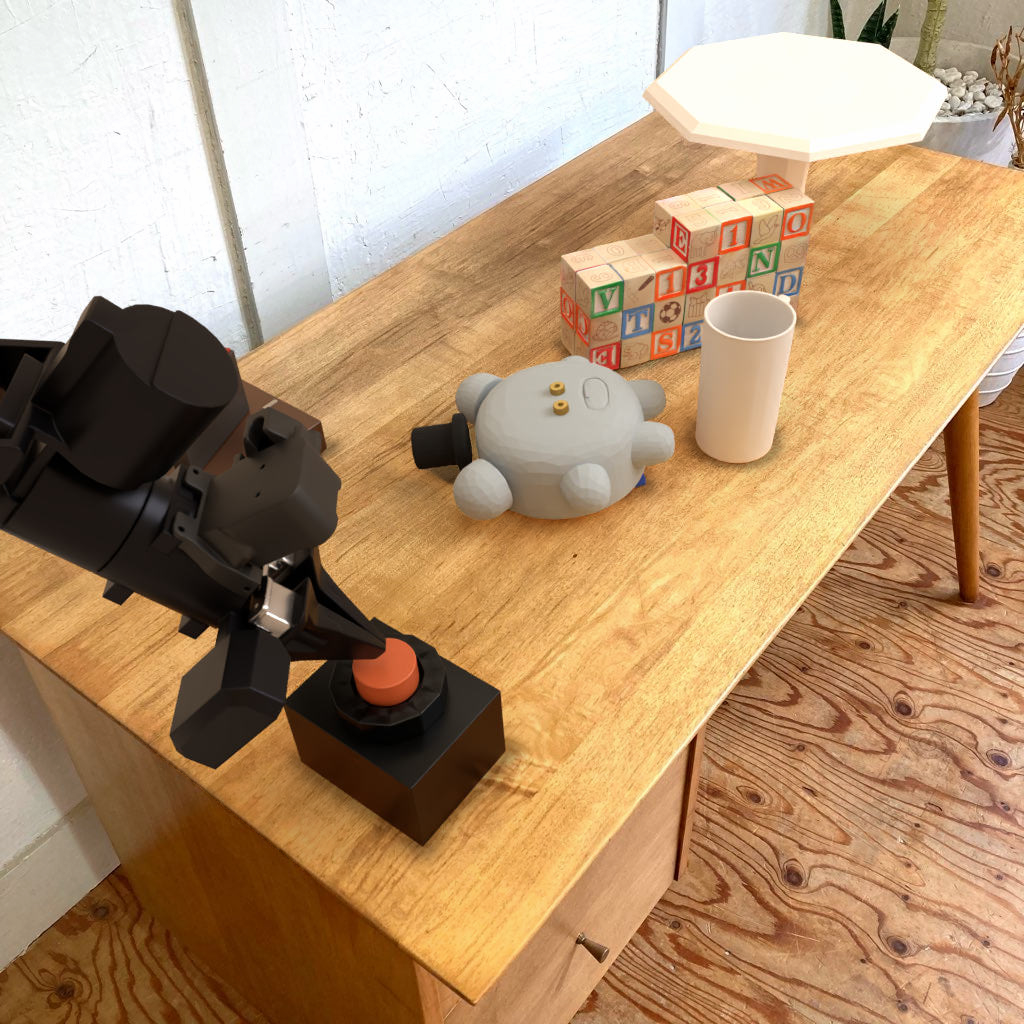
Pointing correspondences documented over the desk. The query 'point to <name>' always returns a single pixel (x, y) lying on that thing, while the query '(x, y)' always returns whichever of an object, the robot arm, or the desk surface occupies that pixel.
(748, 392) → the mug
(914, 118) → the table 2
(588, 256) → the stack of blocks
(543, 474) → the figurine
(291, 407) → the dial panel
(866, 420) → the desk surface
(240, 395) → the dial pointer
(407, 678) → the button
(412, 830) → the button box
